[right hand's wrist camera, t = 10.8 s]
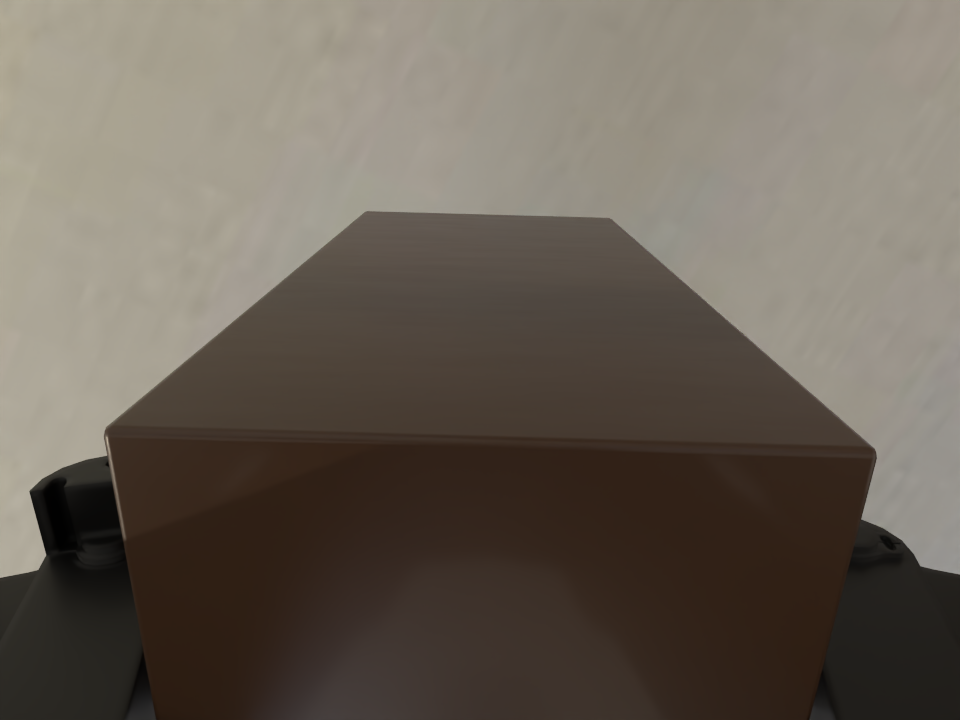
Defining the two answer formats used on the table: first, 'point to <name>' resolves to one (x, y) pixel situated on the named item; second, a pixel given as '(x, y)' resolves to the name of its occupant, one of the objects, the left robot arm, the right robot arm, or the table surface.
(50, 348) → the table surface
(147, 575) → the walnut box
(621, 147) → the table surface
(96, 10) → the table surface
